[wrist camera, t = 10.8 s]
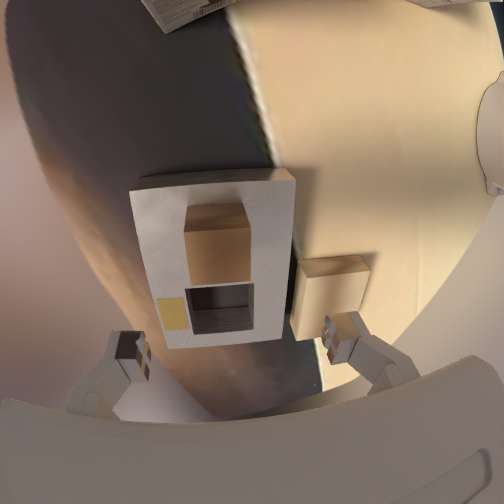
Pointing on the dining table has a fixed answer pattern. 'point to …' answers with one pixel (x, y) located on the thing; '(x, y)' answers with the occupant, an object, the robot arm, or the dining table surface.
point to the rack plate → (175, 259)
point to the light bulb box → (446, 2)
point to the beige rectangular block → (326, 292)
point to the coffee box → (181, 11)
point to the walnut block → (218, 244)
